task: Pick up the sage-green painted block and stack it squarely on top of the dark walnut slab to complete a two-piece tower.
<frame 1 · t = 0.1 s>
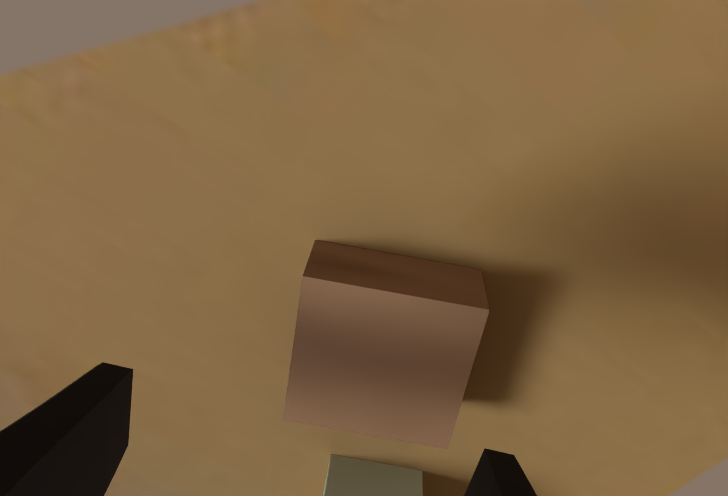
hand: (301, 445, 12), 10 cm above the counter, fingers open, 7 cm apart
green block: (368, 494, 27), on the counter
walnut slab: (383, 320, 23), on the counter
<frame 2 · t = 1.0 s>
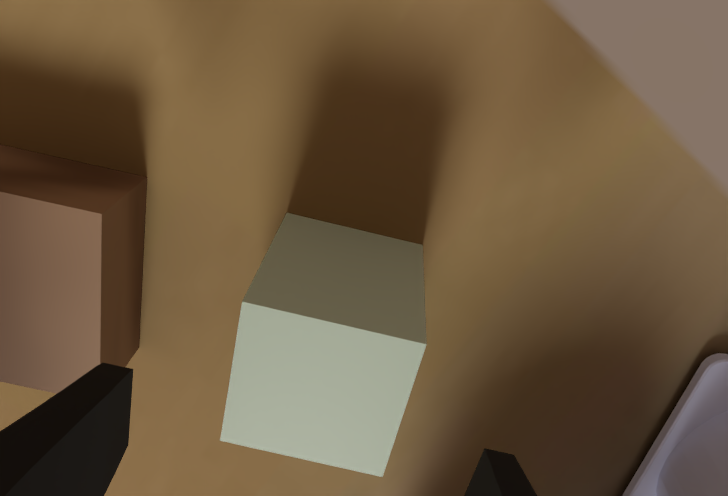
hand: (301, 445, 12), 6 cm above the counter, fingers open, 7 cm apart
green block: (340, 287, 18), on the counter
walnut slab: (50, 243, 18), on the counter
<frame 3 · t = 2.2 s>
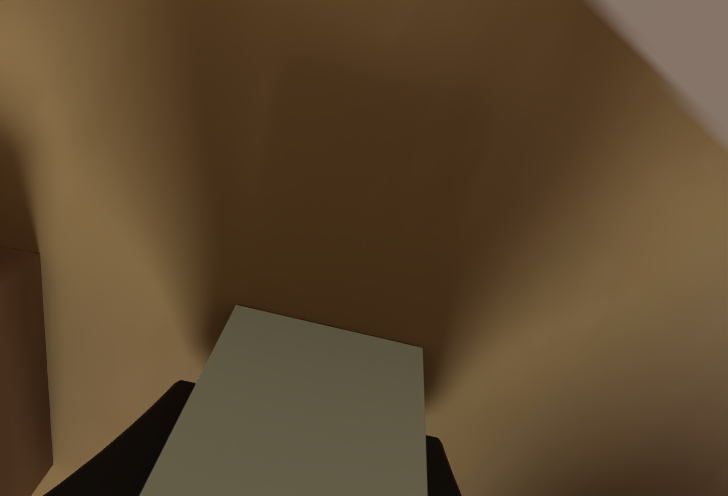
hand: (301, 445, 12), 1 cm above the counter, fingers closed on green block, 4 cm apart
green block: (312, 399, 13), on the counter, touching gripper
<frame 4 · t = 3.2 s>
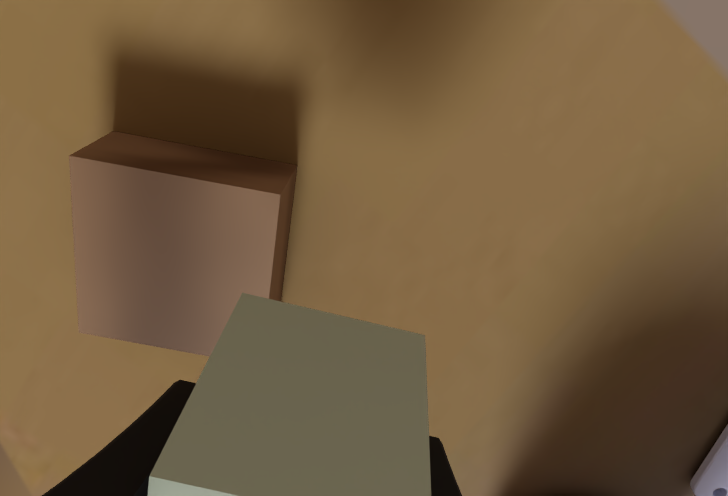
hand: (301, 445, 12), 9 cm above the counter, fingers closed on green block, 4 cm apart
green block: (316, 386, 14), point 7 cm above the counter, touching gripper
walnut slab: (203, 228, 21), on the counter
when the fingers open (5 cm above the counter, at t = 4.5 s): green block stays where it is, resting on walnut slab.
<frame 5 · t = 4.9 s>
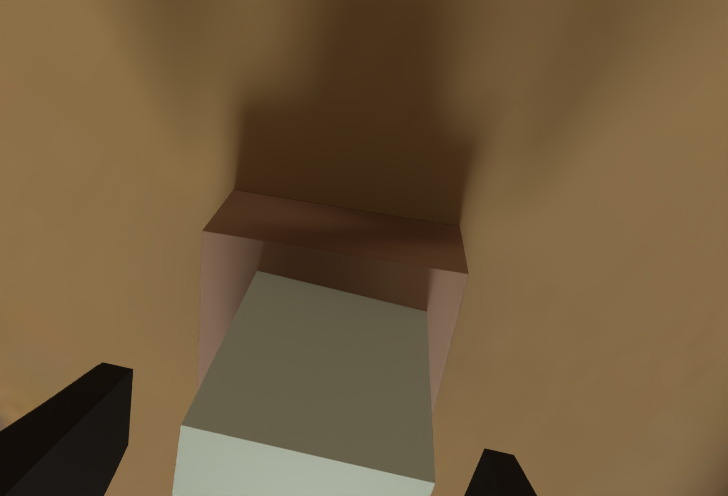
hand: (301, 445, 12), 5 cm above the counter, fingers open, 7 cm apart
green block: (324, 359, 14), point 3 cm above the counter, touching walnut slab
walnut slab: (334, 298, 17), on the counter, touching green block
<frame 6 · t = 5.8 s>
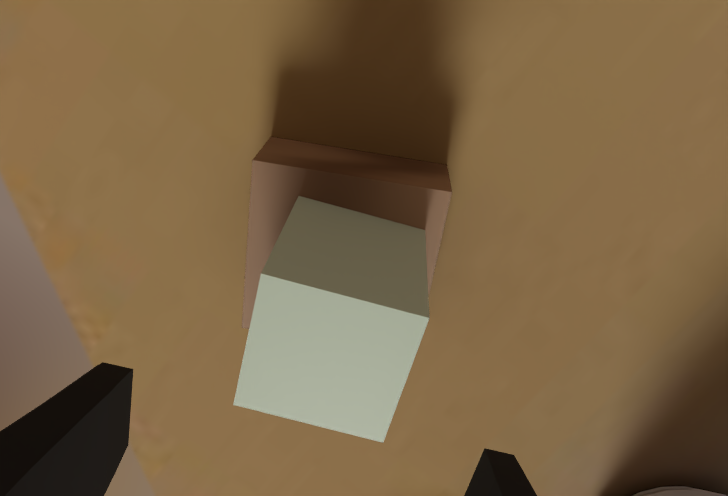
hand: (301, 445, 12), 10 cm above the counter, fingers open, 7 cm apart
green block: (346, 268, 19), point 3 cm above the counter, touching walnut slab
walnut slab: (348, 226, 22), on the counter, touching green block
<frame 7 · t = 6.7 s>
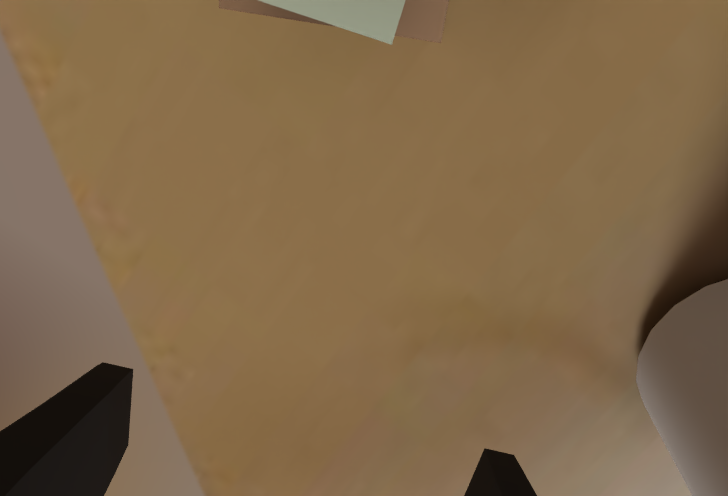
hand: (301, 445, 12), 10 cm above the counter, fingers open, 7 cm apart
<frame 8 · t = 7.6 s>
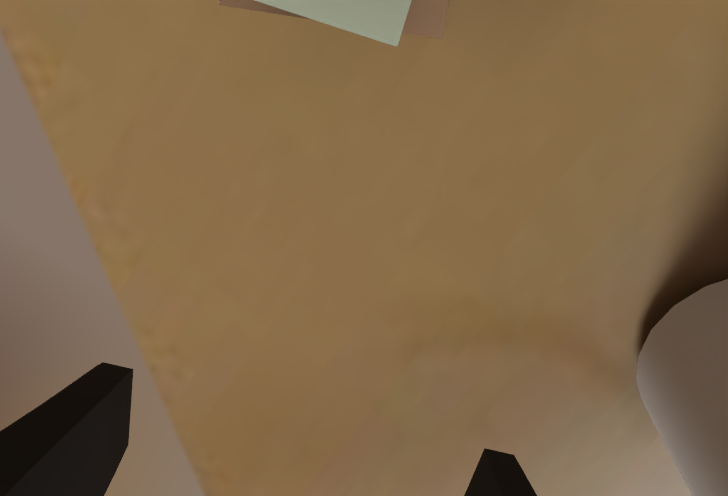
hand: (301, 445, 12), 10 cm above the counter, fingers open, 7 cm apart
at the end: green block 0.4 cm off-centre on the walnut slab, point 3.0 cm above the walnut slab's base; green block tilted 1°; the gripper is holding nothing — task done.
